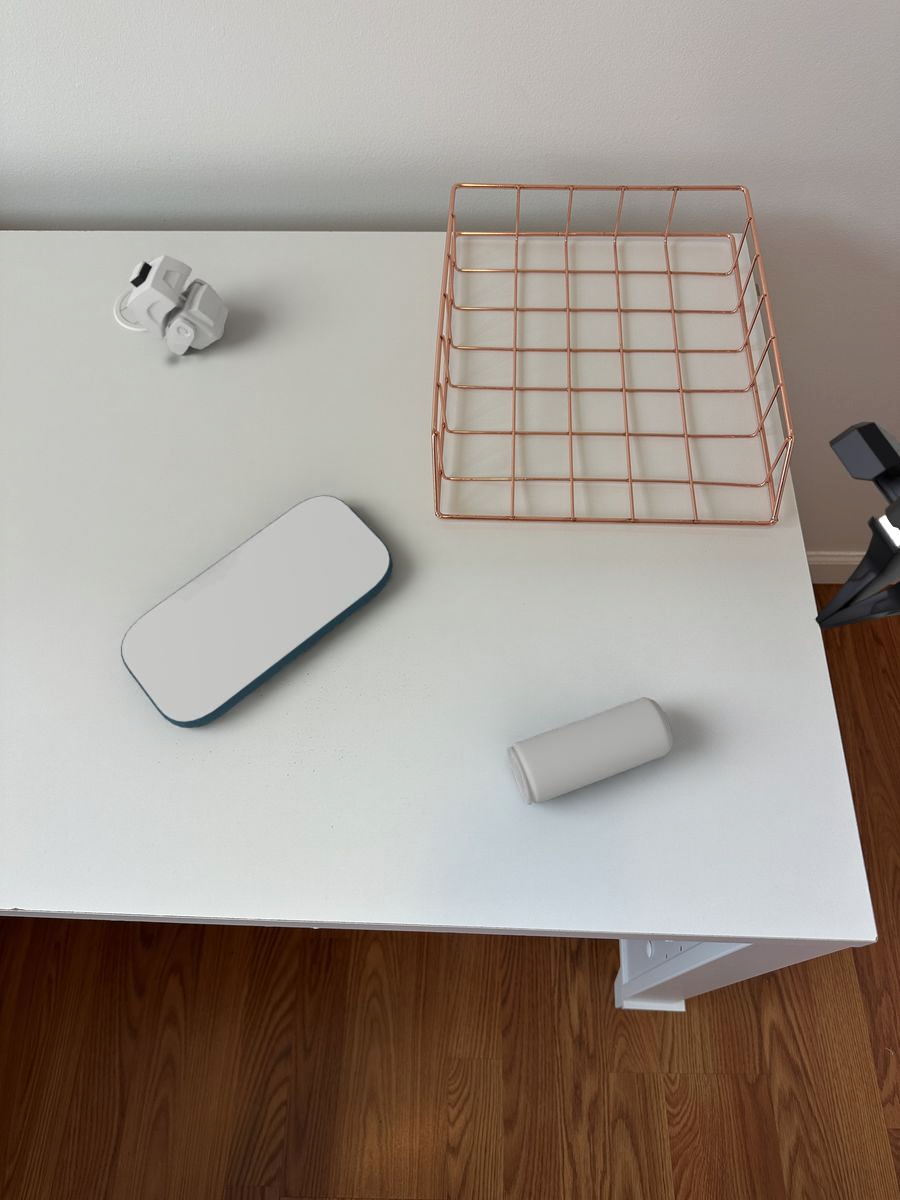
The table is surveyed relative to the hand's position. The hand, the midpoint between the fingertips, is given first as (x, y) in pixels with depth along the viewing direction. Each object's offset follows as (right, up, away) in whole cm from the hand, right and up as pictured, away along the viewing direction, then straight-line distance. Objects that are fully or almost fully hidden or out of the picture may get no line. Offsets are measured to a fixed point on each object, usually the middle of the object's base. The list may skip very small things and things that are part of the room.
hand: (819, 624), depth 56 cm
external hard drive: (-41, +1, +17) cm, 45 cm away
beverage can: (-8, -8, +9) cm, 15 cm away
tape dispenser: (-52, +29, +31) cm, 67 cm away
